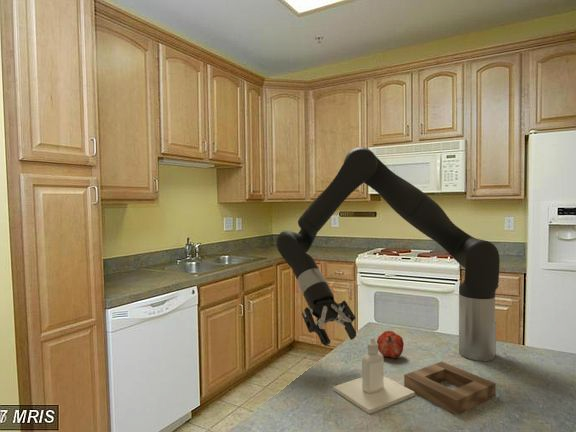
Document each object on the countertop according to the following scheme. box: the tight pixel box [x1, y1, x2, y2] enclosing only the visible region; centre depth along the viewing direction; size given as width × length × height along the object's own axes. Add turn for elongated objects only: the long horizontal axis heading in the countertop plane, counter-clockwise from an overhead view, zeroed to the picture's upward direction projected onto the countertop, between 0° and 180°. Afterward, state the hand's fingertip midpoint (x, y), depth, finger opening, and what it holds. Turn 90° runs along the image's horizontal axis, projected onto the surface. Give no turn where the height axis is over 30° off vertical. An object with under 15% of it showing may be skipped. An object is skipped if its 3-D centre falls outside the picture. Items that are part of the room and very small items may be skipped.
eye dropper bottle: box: [361, 336, 385, 393], centre depth 88 cm, size 4×6×12 cm
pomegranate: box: [376, 330, 405, 359], centre depth 109 cm, size 7×7×10 cm
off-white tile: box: [332, 375, 416, 415], centre depth 88 cm, size 14×12×1 cm
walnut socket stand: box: [403, 361, 497, 416], centre depth 88 cm, size 14×14×3 cm
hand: (341, 341), depth 97 cm, fingers open, 8 cm apart
